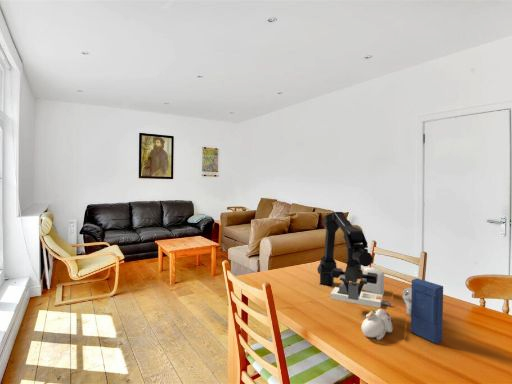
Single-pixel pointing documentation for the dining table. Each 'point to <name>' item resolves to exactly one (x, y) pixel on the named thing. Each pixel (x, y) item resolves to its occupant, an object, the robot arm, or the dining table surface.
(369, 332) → the cat figurine
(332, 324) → the dining table surface
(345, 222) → the robot arm
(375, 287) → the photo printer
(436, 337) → the electronic device
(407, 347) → the dining table surface
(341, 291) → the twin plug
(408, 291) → the light bulb
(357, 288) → the plug
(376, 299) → the strip
